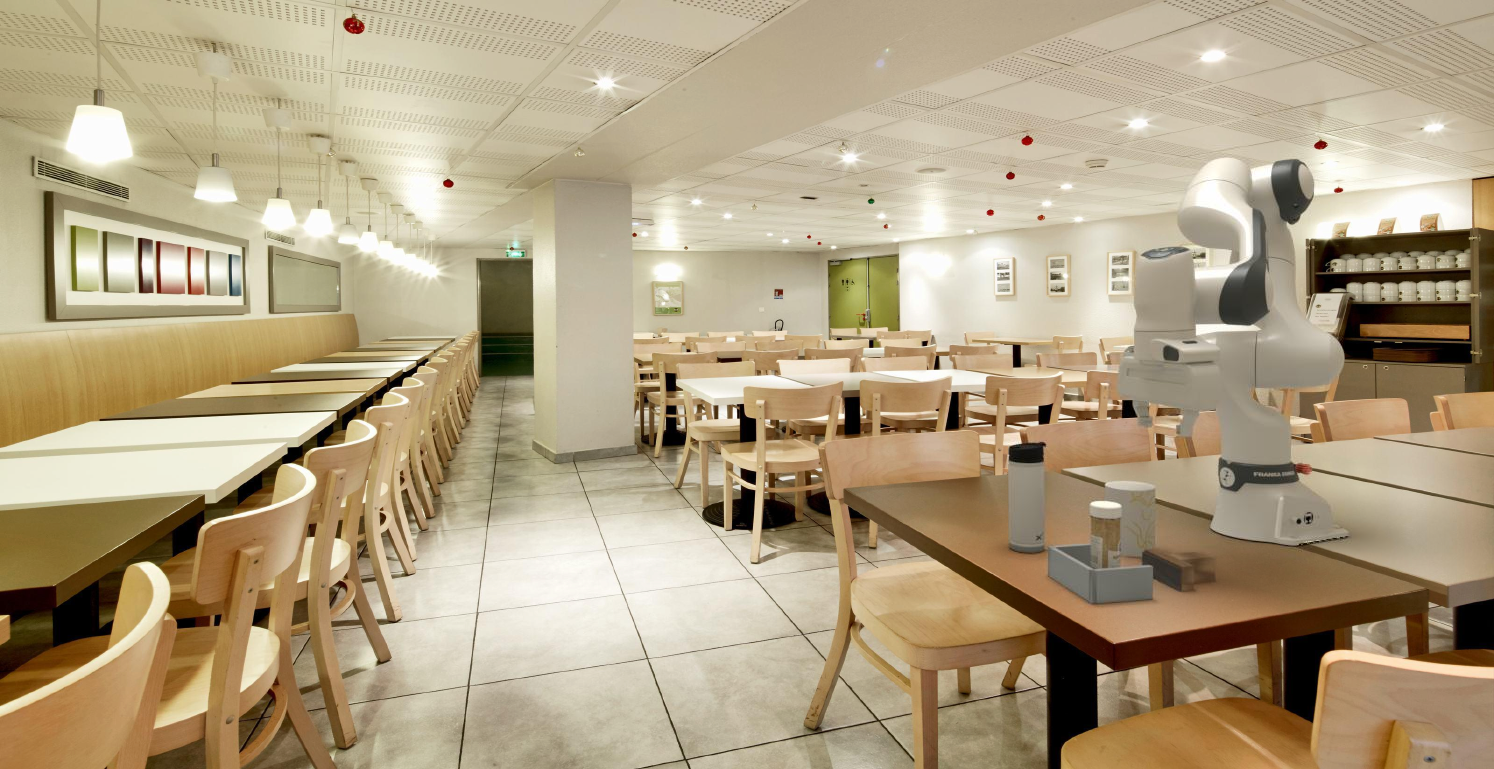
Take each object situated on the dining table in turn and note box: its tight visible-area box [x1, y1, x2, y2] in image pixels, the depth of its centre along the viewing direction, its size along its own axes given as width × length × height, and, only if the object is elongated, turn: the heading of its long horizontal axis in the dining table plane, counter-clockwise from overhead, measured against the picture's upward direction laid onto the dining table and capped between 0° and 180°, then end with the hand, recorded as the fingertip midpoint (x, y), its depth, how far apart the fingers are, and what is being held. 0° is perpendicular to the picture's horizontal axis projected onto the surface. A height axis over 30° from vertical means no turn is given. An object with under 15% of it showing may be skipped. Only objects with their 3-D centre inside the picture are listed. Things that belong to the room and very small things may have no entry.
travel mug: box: [1007, 441, 1047, 554], centre depth 137 cm, size 6×7×20 cm
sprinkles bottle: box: [1089, 500, 1122, 569], centre depth 117 cm, size 5×5×14 cm
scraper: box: [1141, 548, 1216, 593], centre depth 119 cm, size 8×9×4 cm
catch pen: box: [1047, 542, 1154, 605], centre depth 117 cm, size 10×13×5 cm
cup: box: [1104, 480, 1156, 558], centre depth 134 cm, size 8×8×12 cm
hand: (1164, 431), depth 122 cm, fingers open, 8 cm apart
